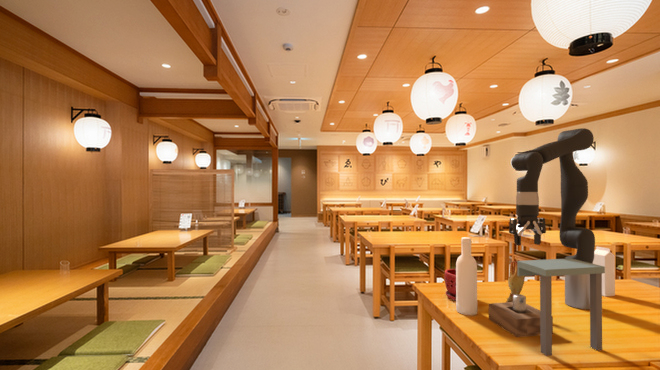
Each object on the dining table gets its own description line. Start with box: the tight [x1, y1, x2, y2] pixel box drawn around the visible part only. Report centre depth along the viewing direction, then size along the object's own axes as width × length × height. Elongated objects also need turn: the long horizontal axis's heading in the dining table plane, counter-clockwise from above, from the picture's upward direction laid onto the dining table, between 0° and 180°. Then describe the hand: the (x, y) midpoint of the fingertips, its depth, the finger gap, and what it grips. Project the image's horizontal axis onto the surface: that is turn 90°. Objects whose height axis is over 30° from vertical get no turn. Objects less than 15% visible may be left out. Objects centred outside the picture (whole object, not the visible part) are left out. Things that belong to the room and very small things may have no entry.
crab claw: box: [505, 260, 526, 302], centre depth 125 cm, size 7×5×20 cm
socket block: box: [488, 301, 554, 338], centre depth 111 cm, size 14×14×6 cm
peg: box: [513, 293, 527, 314], centre depth 111 cm, size 4×4×10 cm
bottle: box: [455, 236, 478, 316], centre depth 124 cm, size 8×8×30 cm
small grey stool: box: [516, 258, 605, 357], centre depth 98 cm, size 21×11×26 cm, turn 99°
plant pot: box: [444, 268, 456, 302], centre depth 139 cm, size 13×13×12 cm
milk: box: [593, 245, 616, 297], centre depth 144 cm, size 6×6×22 cm
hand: (527, 244), depth 119 cm, fingers open, 8 cm apart
